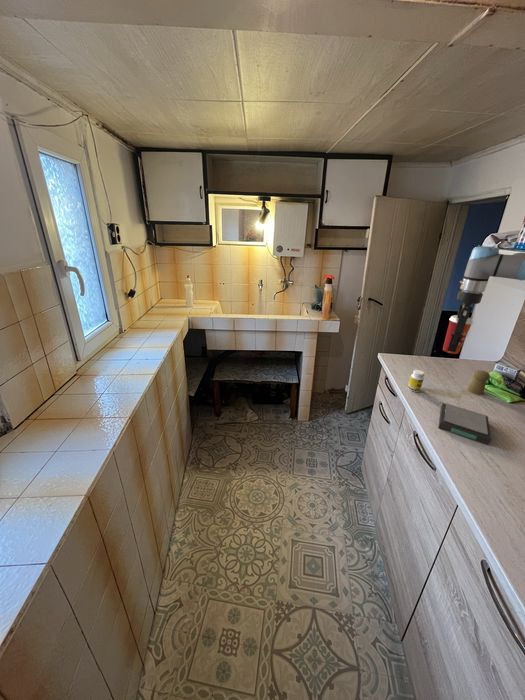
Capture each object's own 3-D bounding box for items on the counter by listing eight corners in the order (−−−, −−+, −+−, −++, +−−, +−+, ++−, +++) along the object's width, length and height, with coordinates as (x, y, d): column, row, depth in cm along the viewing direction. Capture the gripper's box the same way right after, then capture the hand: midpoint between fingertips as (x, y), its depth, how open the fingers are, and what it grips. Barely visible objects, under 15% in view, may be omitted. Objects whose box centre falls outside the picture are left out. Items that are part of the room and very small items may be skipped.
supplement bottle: (416, 393, 116) (421, 375, 112) (405, 388, 119) (410, 371, 116) (421, 390, 118) (427, 372, 115) (411, 385, 122) (416, 368, 118)
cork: (464, 395, 116) (474, 372, 111) (465, 389, 120) (474, 366, 116) (482, 401, 112) (493, 377, 108) (482, 394, 117) (492, 371, 112)
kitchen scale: (485, 422, 100) (488, 414, 99) (488, 445, 89) (492, 437, 88) (440, 408, 107) (443, 400, 106) (438, 428, 96) (441, 420, 95)
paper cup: (459, 356, 108) (471, 322, 103) (437, 350, 113) (448, 317, 107) (463, 351, 114) (475, 318, 108) (442, 345, 118) (452, 313, 113)
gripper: (459, 285, 113) (442, 338, 122) (458, 294, 98) (439, 353, 107) (482, 288, 109) (462, 342, 118) (484, 297, 94) (462, 359, 104)
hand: (451, 348), depth 113 cm, fingers closed on paper cup, 7 cm apart
